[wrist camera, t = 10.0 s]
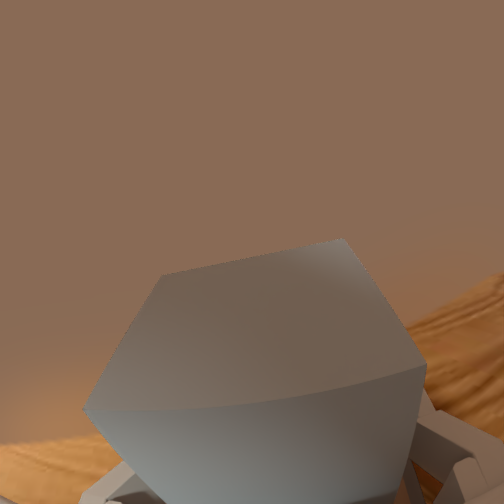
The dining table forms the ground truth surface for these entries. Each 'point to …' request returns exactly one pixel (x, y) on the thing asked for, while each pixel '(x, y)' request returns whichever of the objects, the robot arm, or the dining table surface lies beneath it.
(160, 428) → the pillar
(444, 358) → the dining table surface
